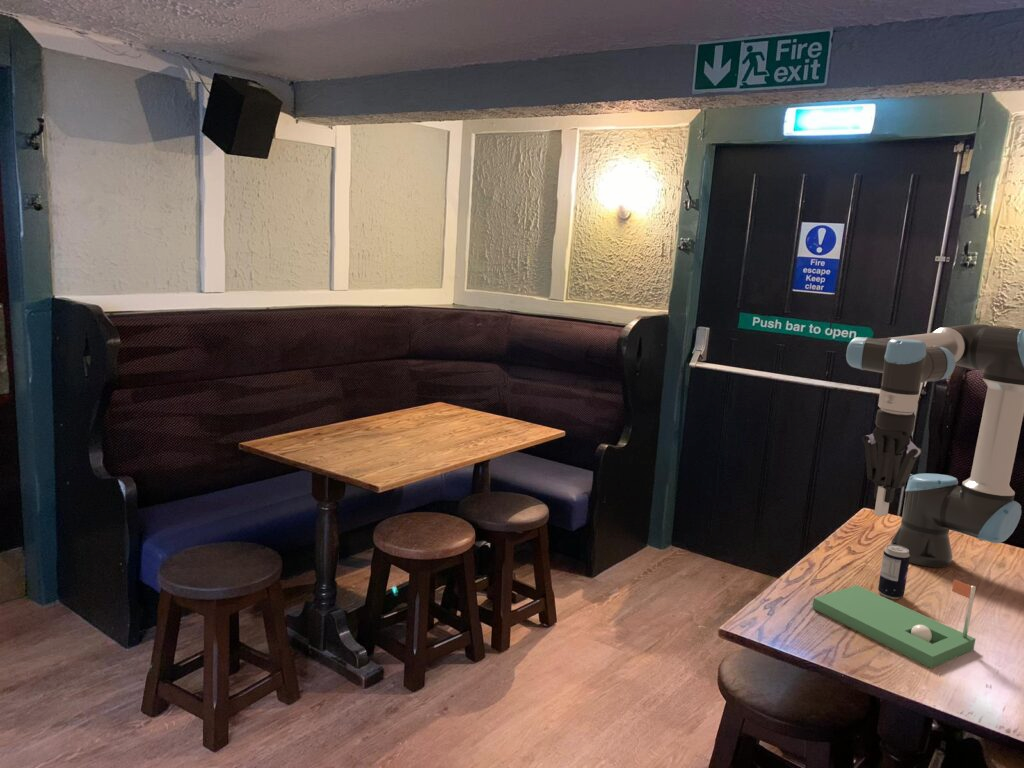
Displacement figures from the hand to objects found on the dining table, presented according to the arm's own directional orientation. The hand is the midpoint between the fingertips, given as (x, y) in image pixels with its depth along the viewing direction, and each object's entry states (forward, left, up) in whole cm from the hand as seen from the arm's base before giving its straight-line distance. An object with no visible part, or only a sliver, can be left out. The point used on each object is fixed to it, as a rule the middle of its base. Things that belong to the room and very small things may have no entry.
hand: (880, 514), depth 172 cm
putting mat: (0, +6, -24) cm, 25 cm away
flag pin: (-6, +17, -24) cm, 30 cm away
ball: (0, +11, -23) cm, 26 cm away
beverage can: (-16, -4, -25) cm, 29 cm away
